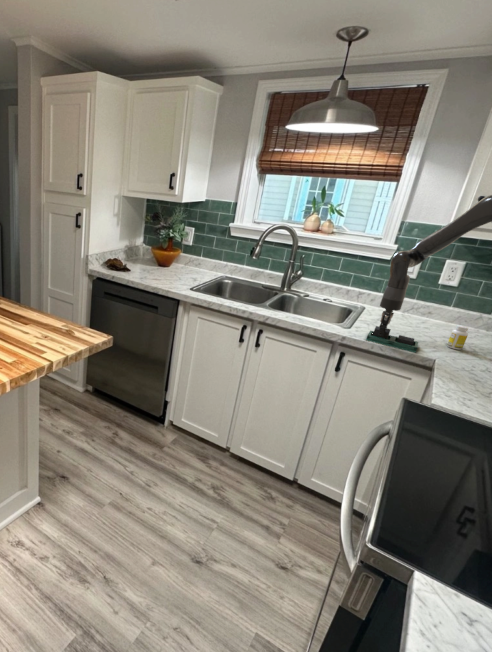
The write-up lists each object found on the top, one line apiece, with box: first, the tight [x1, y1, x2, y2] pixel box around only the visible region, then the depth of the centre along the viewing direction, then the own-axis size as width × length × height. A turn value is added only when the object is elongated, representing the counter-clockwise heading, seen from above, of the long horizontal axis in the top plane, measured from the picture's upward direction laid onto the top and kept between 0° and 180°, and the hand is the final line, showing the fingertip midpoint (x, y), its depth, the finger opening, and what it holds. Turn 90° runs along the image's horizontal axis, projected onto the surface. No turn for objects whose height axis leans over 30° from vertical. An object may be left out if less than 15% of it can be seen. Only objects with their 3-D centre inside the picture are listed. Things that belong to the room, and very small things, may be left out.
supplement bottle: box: [446, 324, 469, 351], centre depth 177 cm, size 5×5×10 cm
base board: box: [365, 330, 419, 354], centre depth 177 cm, size 18×12×2 cm, turn 51°
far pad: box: [373, 325, 391, 339], centre depth 179 cm, size 6×6×3 cm
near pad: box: [397, 334, 415, 346], centre depth 174 cm, size 6×6×3 cm
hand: (381, 334), depth 179 cm, fingers closed on far pad, 5 cm apart
